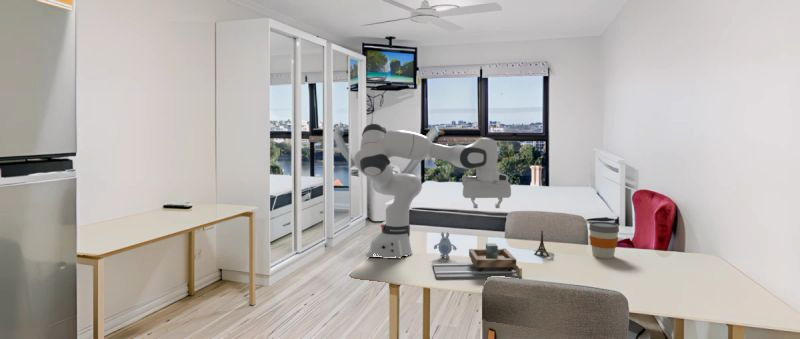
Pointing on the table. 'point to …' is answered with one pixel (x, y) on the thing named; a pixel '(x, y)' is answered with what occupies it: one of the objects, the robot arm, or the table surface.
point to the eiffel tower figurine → (543, 250)
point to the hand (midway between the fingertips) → (486, 208)
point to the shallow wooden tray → (503, 259)
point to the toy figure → (445, 245)
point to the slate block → (491, 251)
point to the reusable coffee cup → (603, 238)
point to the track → (472, 271)
